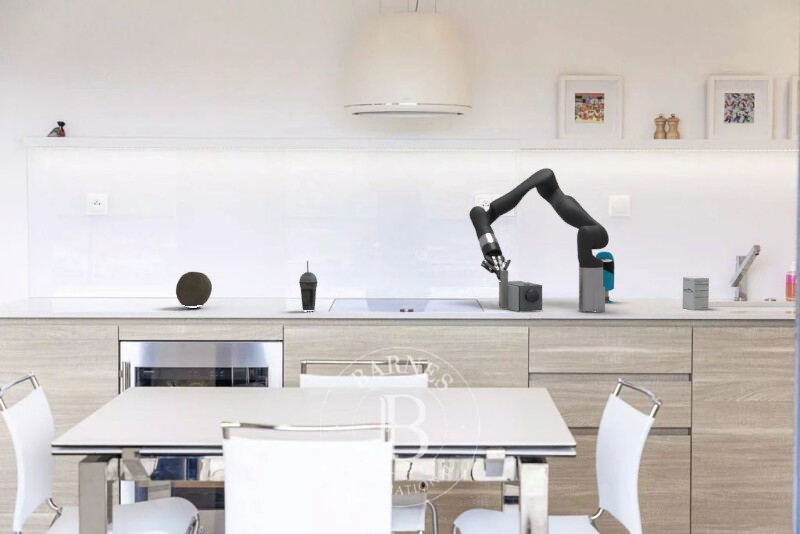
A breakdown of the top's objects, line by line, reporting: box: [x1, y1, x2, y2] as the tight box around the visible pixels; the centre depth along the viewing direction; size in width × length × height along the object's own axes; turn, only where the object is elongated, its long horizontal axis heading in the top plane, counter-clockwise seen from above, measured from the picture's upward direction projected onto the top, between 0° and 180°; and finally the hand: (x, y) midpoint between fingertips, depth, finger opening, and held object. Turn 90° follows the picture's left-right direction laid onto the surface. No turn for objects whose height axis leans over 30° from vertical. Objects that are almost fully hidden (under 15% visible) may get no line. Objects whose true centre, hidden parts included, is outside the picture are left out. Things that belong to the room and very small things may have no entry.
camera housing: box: [498, 280, 543, 312], centre depth 411 cm, size 22×10×11 cm, turn 18°
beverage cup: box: [298, 260, 318, 311], centre depth 405 cm, size 7×7×20 cm
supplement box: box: [682, 275, 710, 311], centre depth 407 cm, size 7×7×13 cm
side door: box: [499, 269, 520, 312], centre depth 405 cm, size 10×3×15 cm, turn 18°
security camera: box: [595, 251, 615, 304], centre depth 431 cm, size 8×21×10 cm
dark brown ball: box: [175, 271, 213, 307], centre depth 418 cm, size 14×14×15 cm
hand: (502, 279), depth 410 cm, fingers closed
